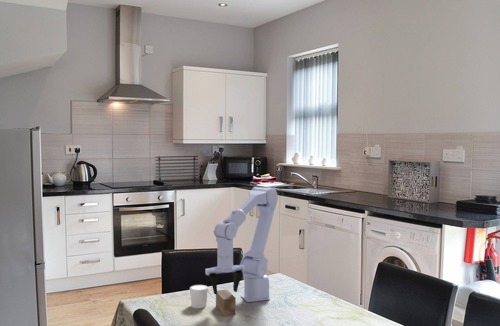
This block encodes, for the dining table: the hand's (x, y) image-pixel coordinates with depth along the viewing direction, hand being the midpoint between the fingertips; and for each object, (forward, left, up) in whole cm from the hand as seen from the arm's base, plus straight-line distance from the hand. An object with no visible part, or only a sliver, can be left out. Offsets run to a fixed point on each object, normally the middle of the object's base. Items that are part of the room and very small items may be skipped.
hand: (225, 292), depth 164 cm
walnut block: (0, 0, -7) cm, 7 cm away
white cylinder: (+8, -8, -7) cm, 13 cm away
